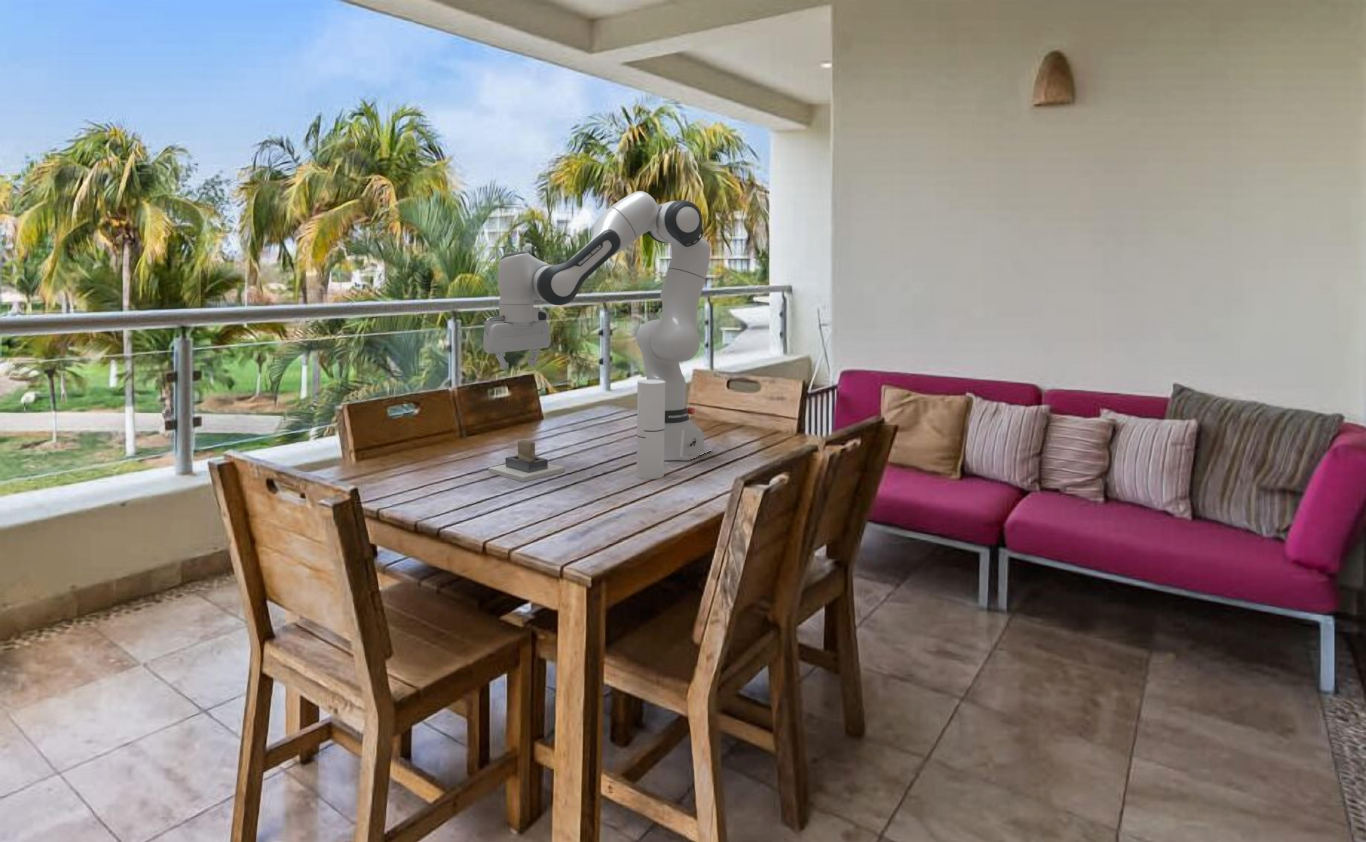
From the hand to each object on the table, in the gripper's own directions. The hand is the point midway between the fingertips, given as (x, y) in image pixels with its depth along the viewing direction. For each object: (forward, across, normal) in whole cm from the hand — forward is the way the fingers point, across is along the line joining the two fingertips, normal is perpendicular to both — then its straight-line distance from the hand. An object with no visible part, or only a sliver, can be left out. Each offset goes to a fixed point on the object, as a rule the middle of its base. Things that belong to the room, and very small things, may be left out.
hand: (518, 367), depth 215 cm
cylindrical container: (+28, +17, -31) cm, 45 cm away
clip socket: (+26, -3, -5) cm, 27 cm away
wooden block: (+26, -3, -5) cm, 27 cm away
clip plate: (+27, -3, -5) cm, 28 cm away
